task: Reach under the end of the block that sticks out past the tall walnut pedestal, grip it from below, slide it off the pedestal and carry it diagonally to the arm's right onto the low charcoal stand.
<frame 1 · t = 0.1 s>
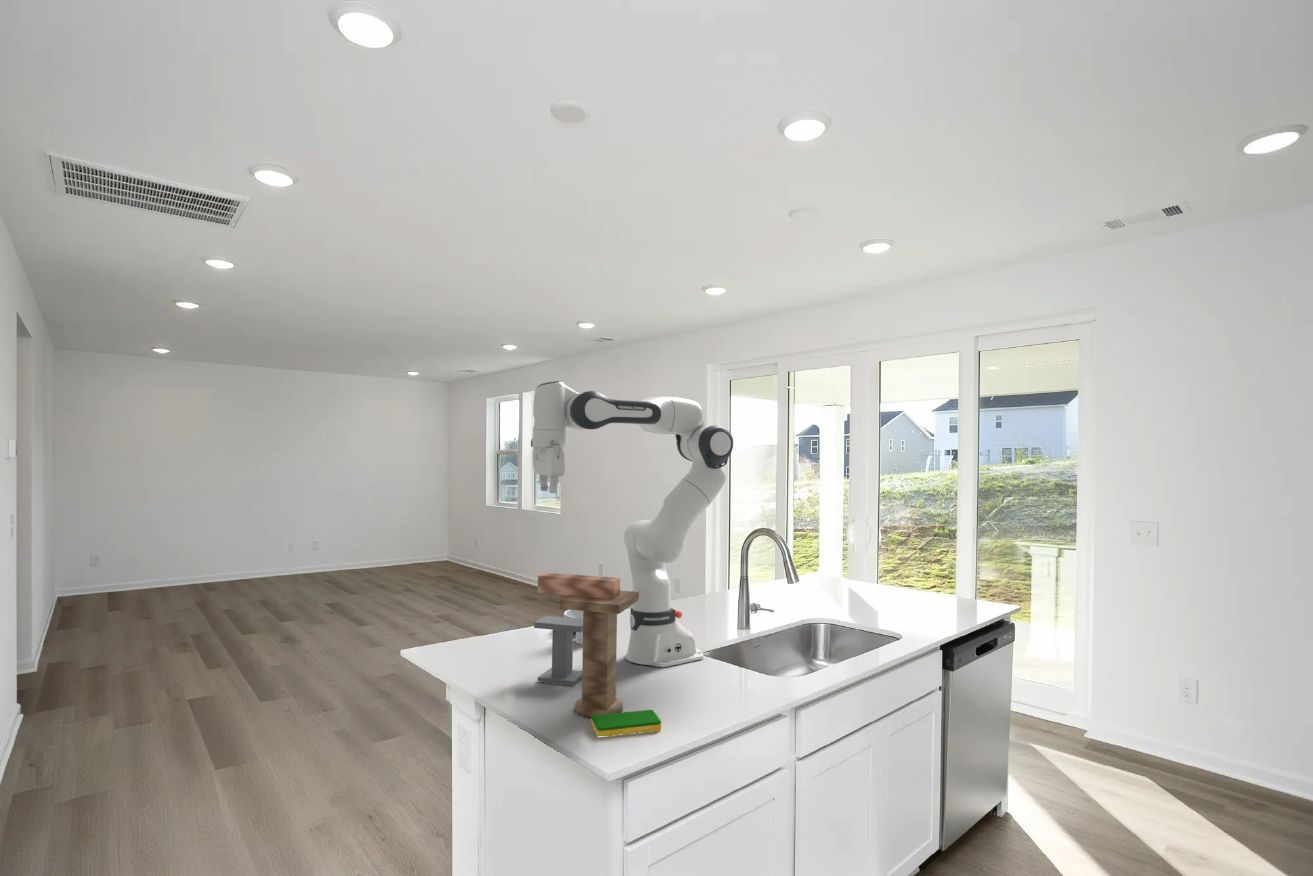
hand: (548, 492, 182), 48 cm above the counter, tool pointing down, fingers open, 8 cm apart
walnut pedestal: (598, 709, 155), on the counter
syrup box: (587, 642, 209), on the counter
dog bowl: (586, 631, 222), on the counter
block: (578, 594, 157), point 26 cm above the counter, touching walnut pedestal
dish sponge: (626, 730, 145), on the counter
low stand: (562, 679, 175), on the counter
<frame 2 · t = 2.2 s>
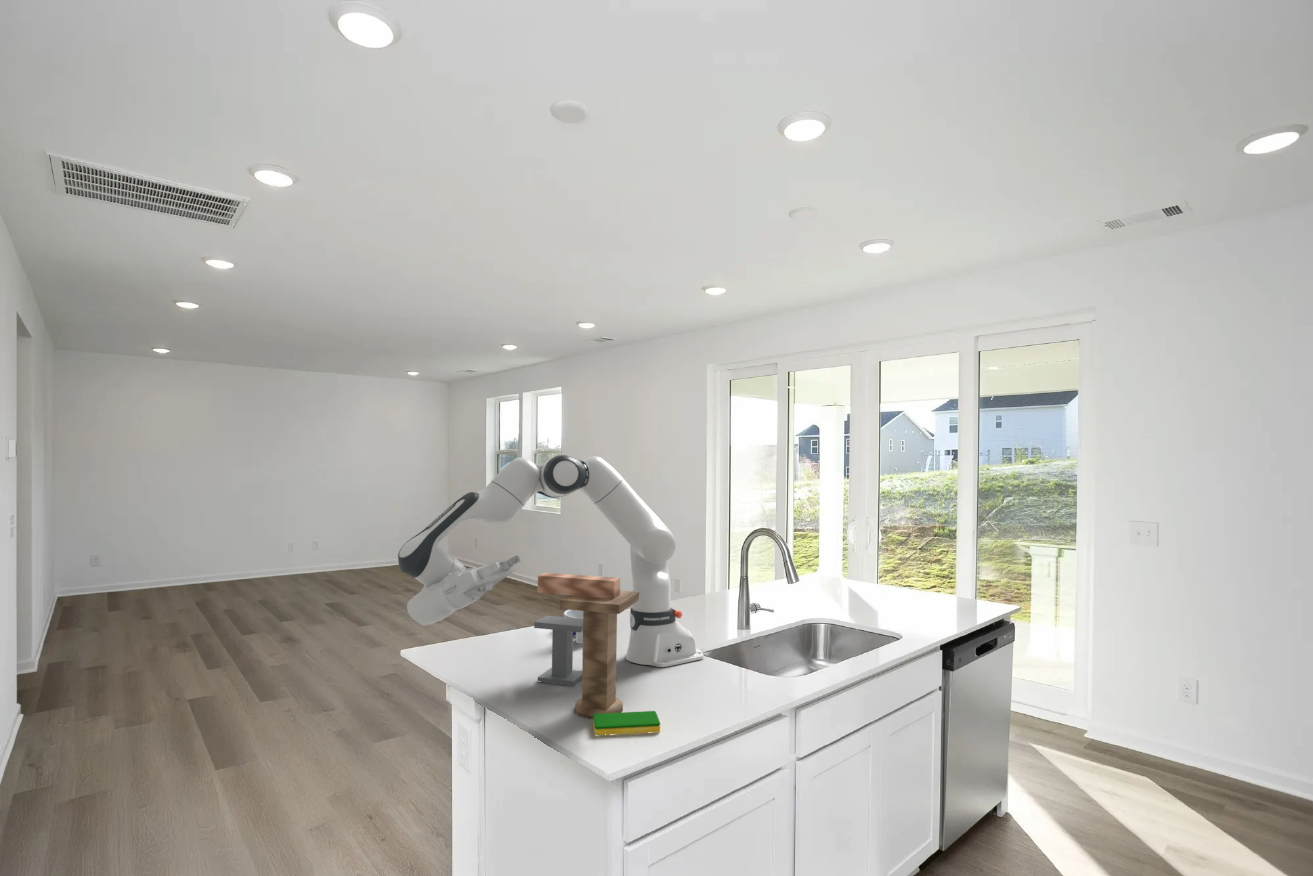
hand: (508, 561, 162), 32 cm above the counter, tool pointing upward, fingers open, 8 cm apart
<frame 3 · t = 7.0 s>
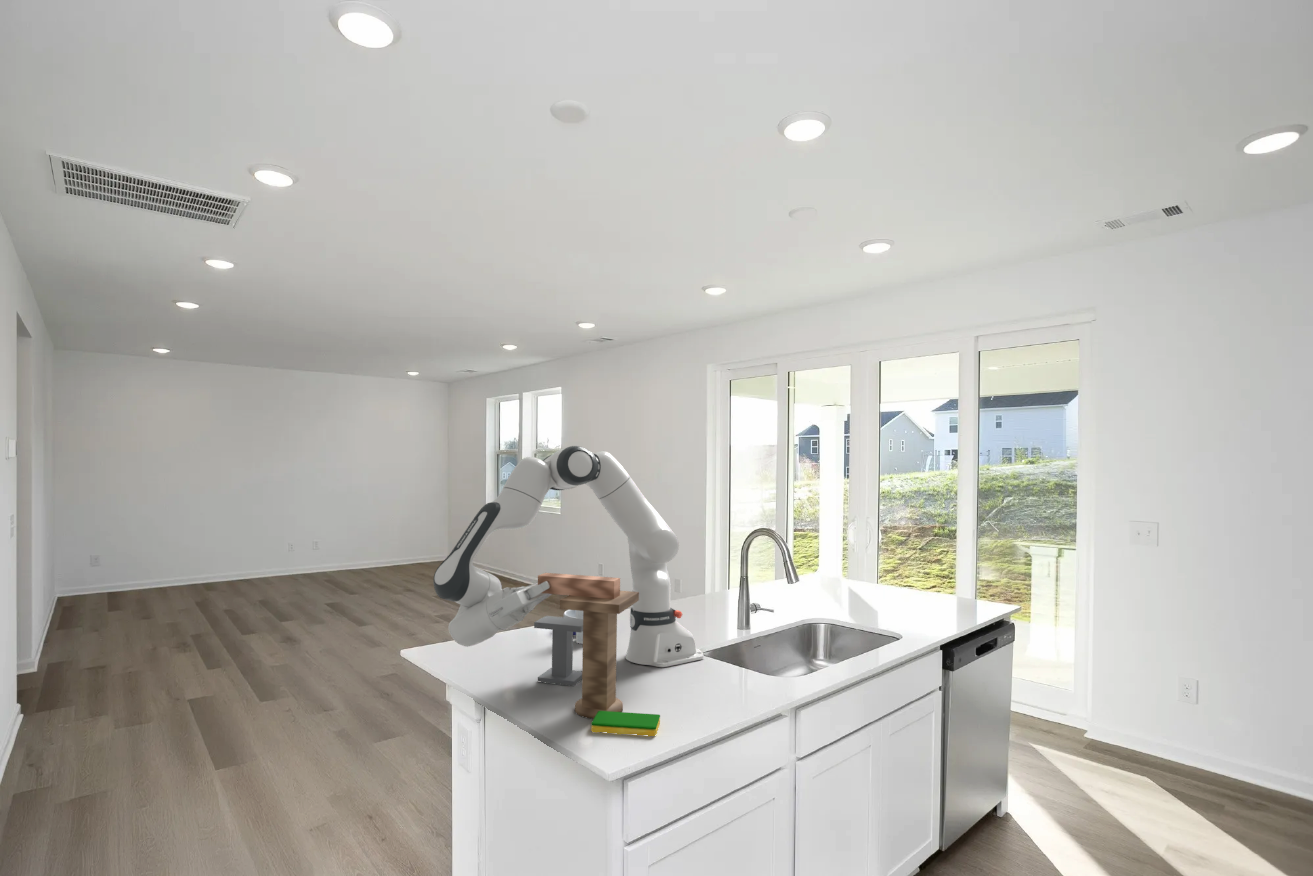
hand: (554, 581, 158), 28 cm above the counter, tool pointing upward, fingers closed on block, 4 cm apart
block: (578, 594, 157), point 26 cm above the counter, touching gripper, walnut pedestal
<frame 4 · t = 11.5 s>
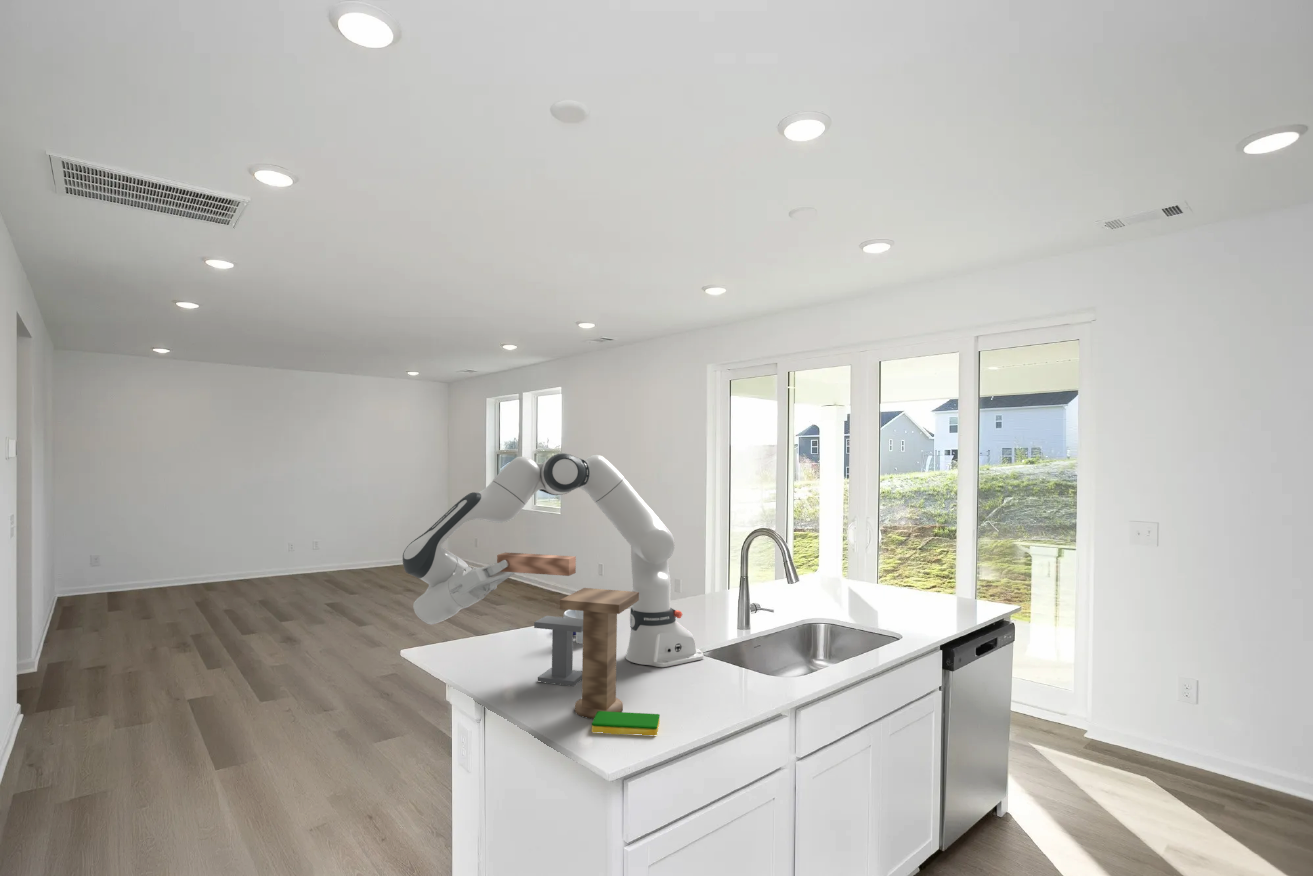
hand: (513, 560, 165), 32 cm above the counter, tool pointing upward, fingers closed on block, 4 cm apart
block: (536, 572, 163), point 30 cm above the counter, touching gripper
when the fingers open (19 cm above the counter, at t = 16.3 s): block drops 1 cm, resting on low stand.
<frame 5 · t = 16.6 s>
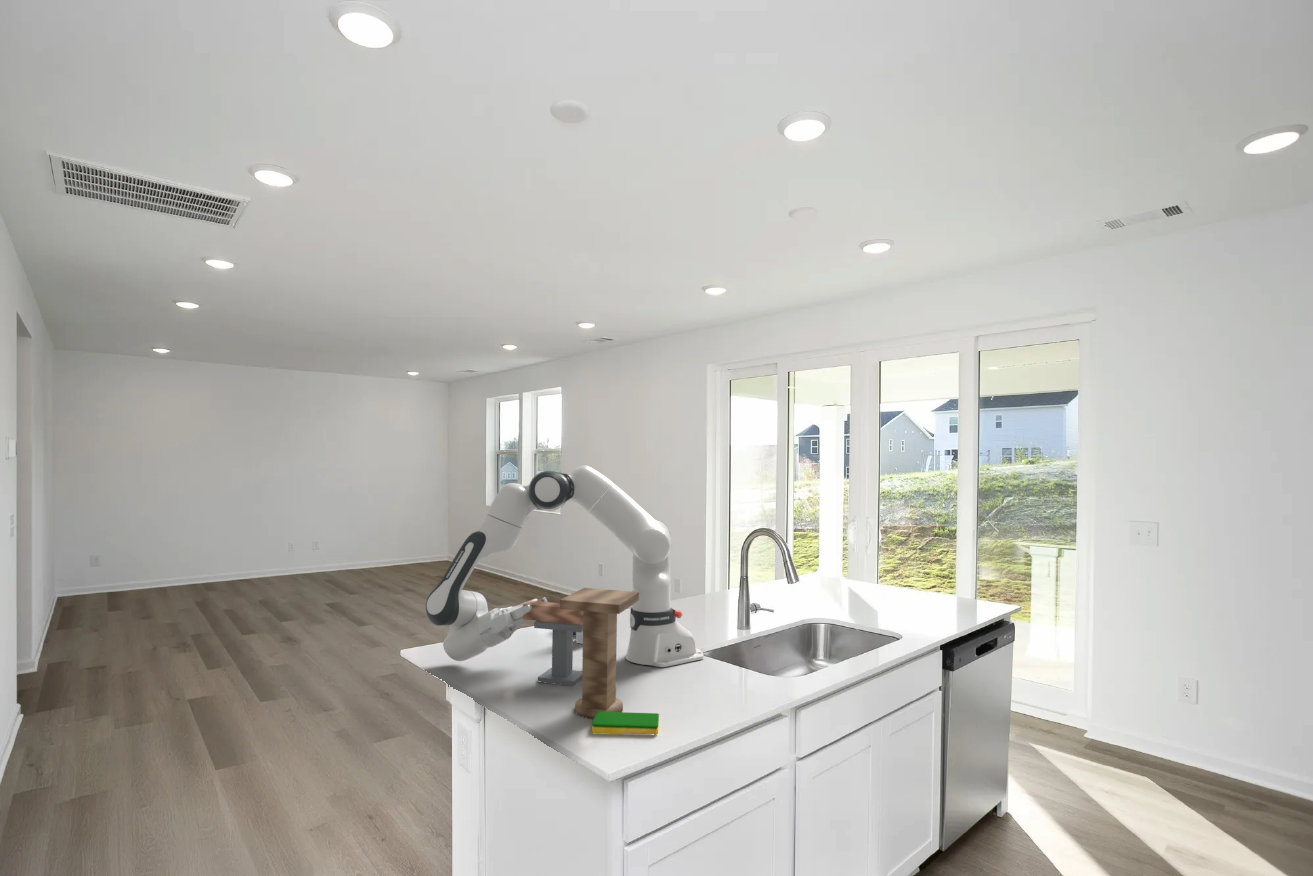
hand: (537, 603, 177), 19 cm above the counter, tool pointing upward, fingers open, 7 cm apart
block: (559, 620, 175), point 15 cm above the counter, touching low stand
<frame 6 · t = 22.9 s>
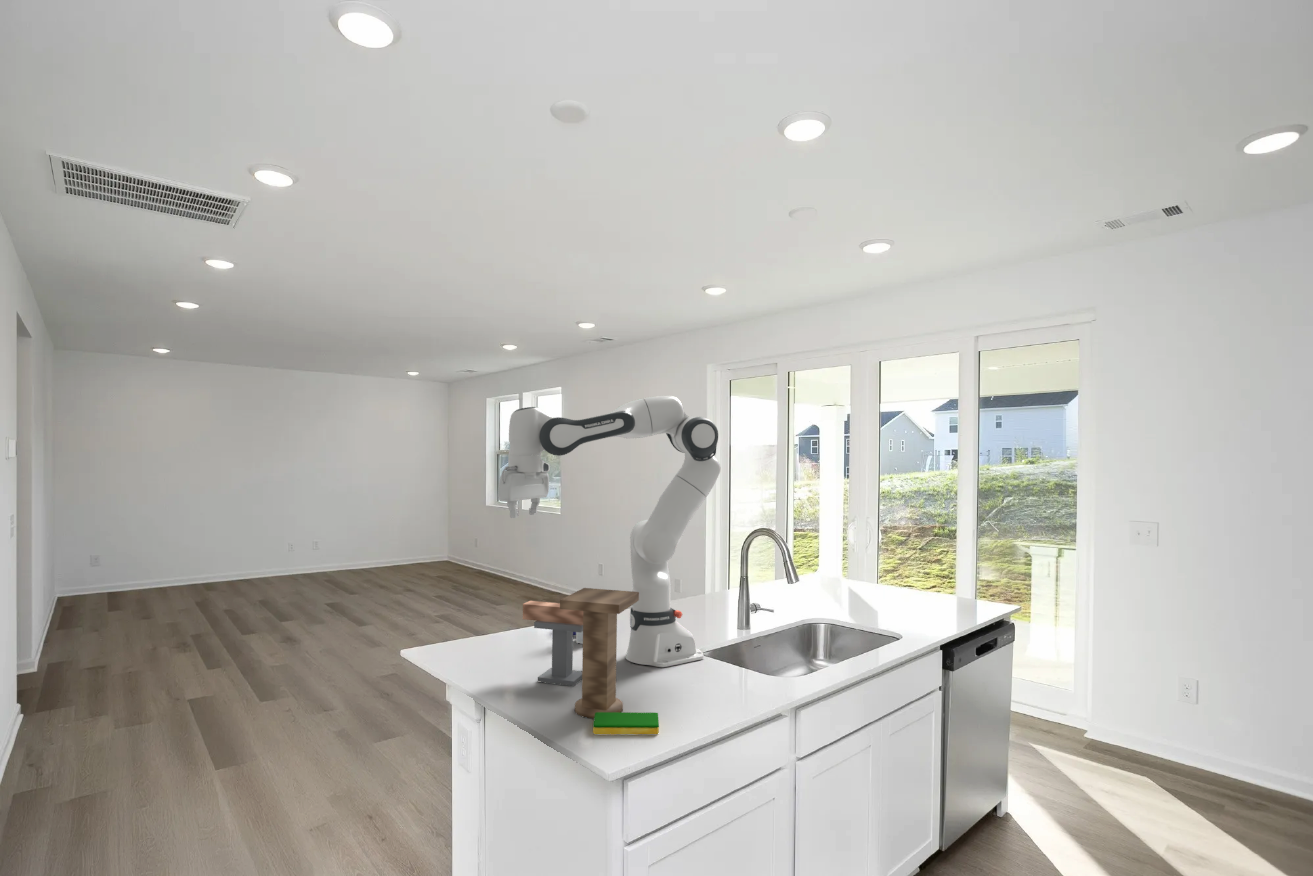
hand: (523, 516, 185), 41 cm above the counter, tool pointing down, fingers open, 8 cm apart
at the end: block inside the target area on the low stand (1.1 cm from its centre), point 15.0 cm above the low stand's base; the gripper is holding nothing; block touching low stand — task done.
